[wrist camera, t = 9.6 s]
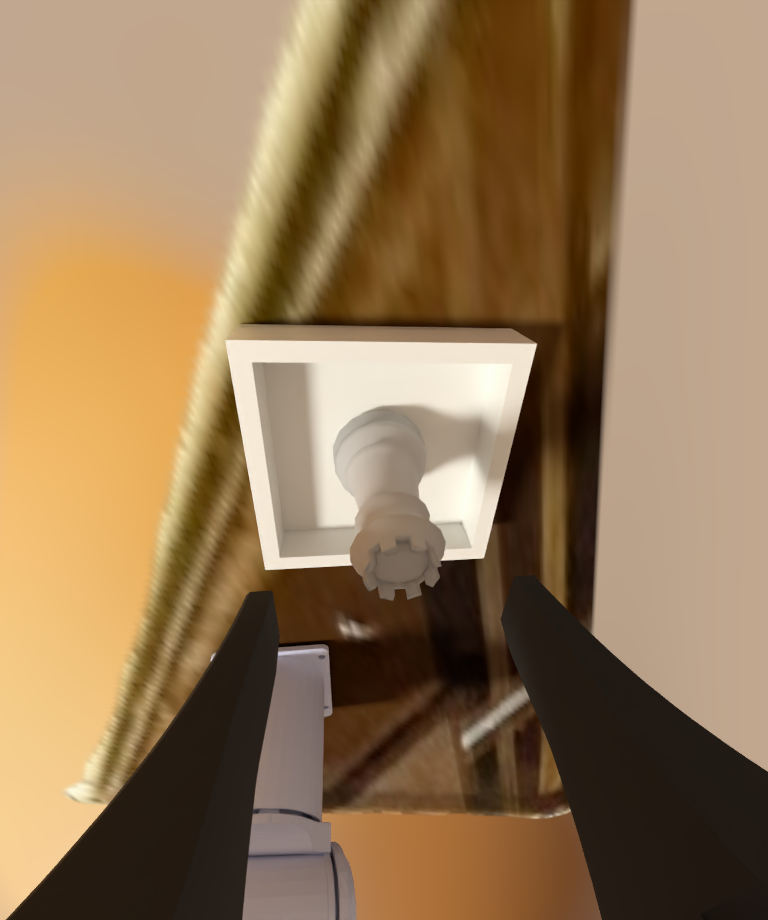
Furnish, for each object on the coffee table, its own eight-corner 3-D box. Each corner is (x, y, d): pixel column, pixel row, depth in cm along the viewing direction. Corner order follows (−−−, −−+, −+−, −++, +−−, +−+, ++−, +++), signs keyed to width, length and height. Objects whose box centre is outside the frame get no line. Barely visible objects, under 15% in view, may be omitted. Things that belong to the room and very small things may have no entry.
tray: (470, 527, 23) (483, 558, 21) (272, 536, 22) (265, 569, 20) (511, 328, 17) (536, 343, 15) (240, 323, 16) (225, 339, 14)
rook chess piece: (343, 492, 20) (348, 630, 13) (322, 416, 18) (314, 537, 11) (427, 475, 20) (474, 604, 13) (417, 397, 18) (468, 506, 11)
